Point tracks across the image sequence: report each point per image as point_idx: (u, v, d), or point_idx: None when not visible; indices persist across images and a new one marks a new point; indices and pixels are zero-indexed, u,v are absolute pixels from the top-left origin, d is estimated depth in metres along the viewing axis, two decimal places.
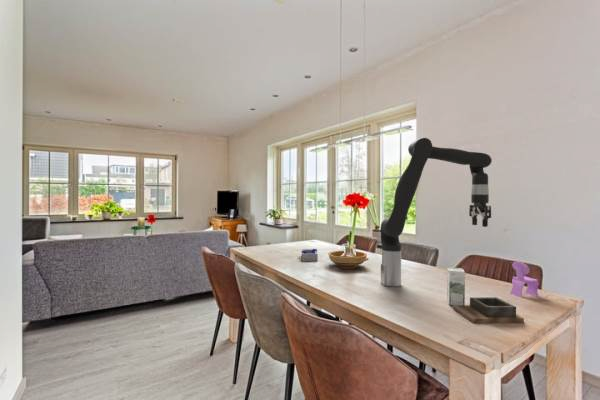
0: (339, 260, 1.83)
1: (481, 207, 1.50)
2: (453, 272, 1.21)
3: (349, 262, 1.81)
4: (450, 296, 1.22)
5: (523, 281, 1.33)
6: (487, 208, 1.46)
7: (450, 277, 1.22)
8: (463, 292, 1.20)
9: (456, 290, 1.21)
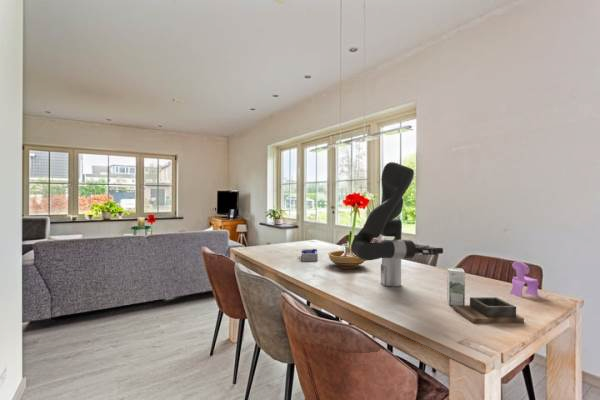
0: (339, 260, 1.83)
1: None
2: (453, 272, 1.21)
3: (349, 262, 1.81)
4: (450, 296, 1.22)
5: (523, 281, 1.33)
6: None
7: (450, 277, 1.22)
8: (463, 292, 1.20)
9: (456, 290, 1.21)
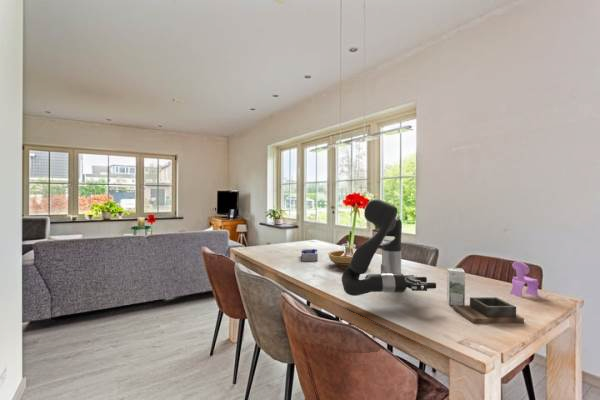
0: (339, 260, 1.83)
1: (405, 278, 1.26)
2: (453, 272, 1.21)
3: (349, 262, 1.81)
4: (450, 296, 1.22)
5: (523, 281, 1.33)
6: None
7: (450, 277, 1.22)
8: (463, 292, 1.20)
9: (456, 290, 1.21)
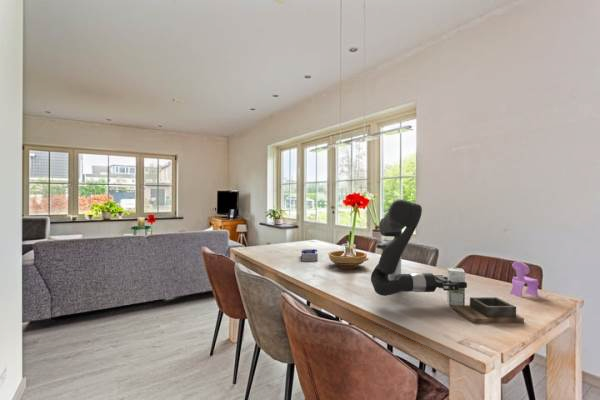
0: (339, 260, 1.83)
1: None
2: (453, 272, 1.21)
3: (349, 262, 1.81)
4: (450, 296, 1.22)
5: (523, 281, 1.33)
6: None
7: (450, 277, 1.22)
8: (463, 292, 1.20)
9: None
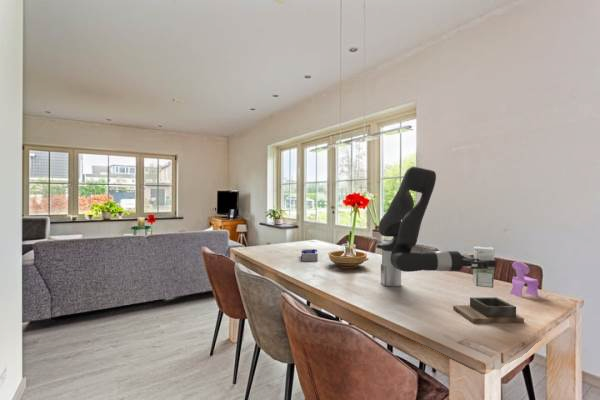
0: (339, 260, 1.83)
1: None
2: (481, 250, 1.12)
3: (349, 262, 1.81)
4: (477, 276, 1.12)
5: (523, 281, 1.33)
6: None
7: (478, 255, 1.12)
8: (492, 271, 1.10)
9: (484, 269, 1.11)
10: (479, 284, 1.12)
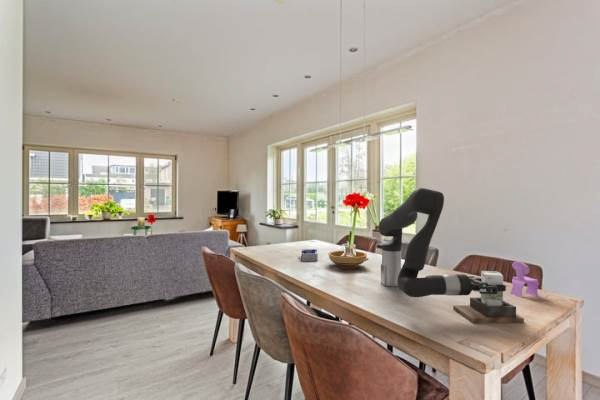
0: (339, 260, 1.83)
1: None
2: (490, 276, 1.09)
3: (349, 262, 1.81)
4: (486, 303, 1.10)
5: (523, 281, 1.33)
6: None
7: None
8: (501, 298, 1.08)
9: (493, 295, 1.09)
10: None
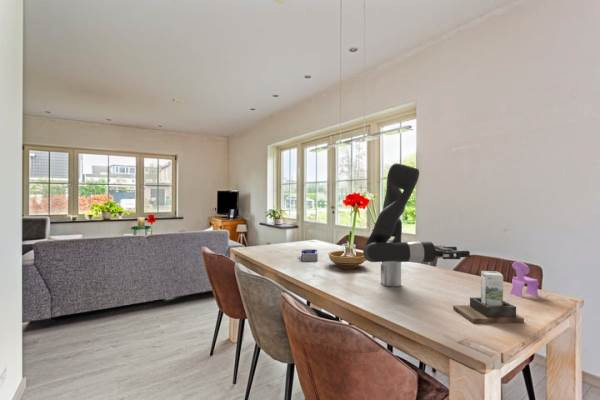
0: (339, 260, 1.83)
1: None
2: (490, 276, 1.09)
3: (349, 262, 1.81)
4: (486, 303, 1.10)
5: (523, 281, 1.33)
6: None
7: (486, 282, 1.10)
8: (501, 298, 1.08)
9: (493, 295, 1.09)
10: None
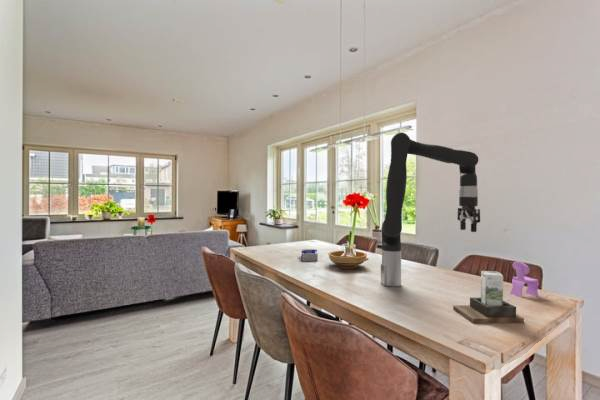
0: (339, 260, 1.83)
1: (469, 210, 1.38)
2: (490, 276, 1.09)
3: (349, 262, 1.81)
4: (486, 303, 1.10)
5: (523, 281, 1.33)
6: (476, 212, 1.34)
7: (486, 282, 1.10)
8: (501, 298, 1.08)
9: (493, 295, 1.09)
10: None
